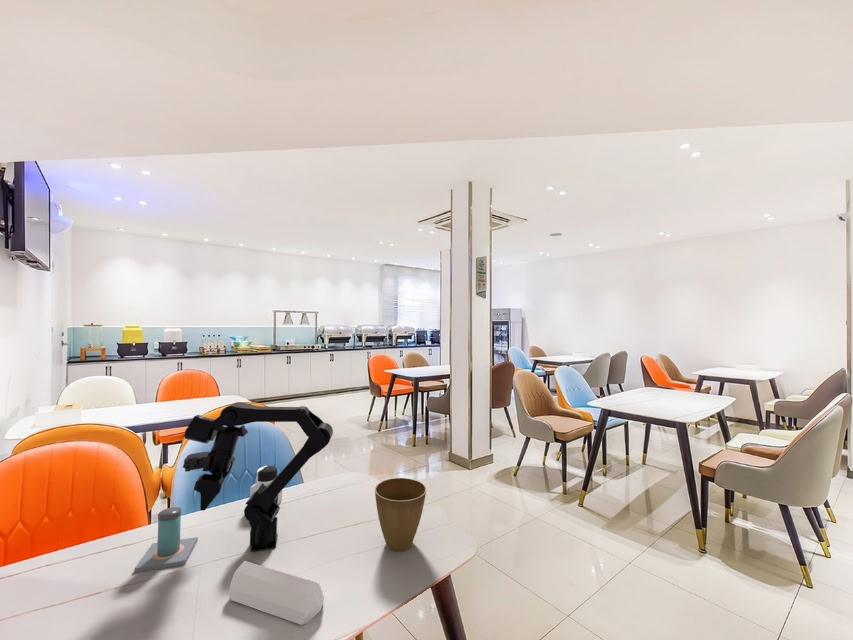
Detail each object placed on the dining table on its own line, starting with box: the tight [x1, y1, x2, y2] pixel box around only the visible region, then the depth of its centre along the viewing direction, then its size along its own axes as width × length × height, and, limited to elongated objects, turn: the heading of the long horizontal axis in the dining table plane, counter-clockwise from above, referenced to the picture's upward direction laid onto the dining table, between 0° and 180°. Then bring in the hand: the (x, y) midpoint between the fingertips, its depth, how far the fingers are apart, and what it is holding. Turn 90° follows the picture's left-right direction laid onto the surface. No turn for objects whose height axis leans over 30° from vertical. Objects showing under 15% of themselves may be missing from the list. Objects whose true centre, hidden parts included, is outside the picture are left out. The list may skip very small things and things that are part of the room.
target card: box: [134, 536, 199, 573], centre depth 98 cm, size 11×11×1 cm
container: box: [249, 465, 283, 506], centre depth 126 cm, size 8×8×13 cm
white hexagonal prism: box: [229, 560, 326, 626], centre depth 82 cm, size 7×7×24 cm
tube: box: [156, 506, 183, 557], centre depth 98 cm, size 5×5×10 cm
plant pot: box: [374, 477, 427, 552], centre depth 105 cm, size 15×15×16 cm
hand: (207, 501), depth 102 cm, fingers open, 9 cm apart
